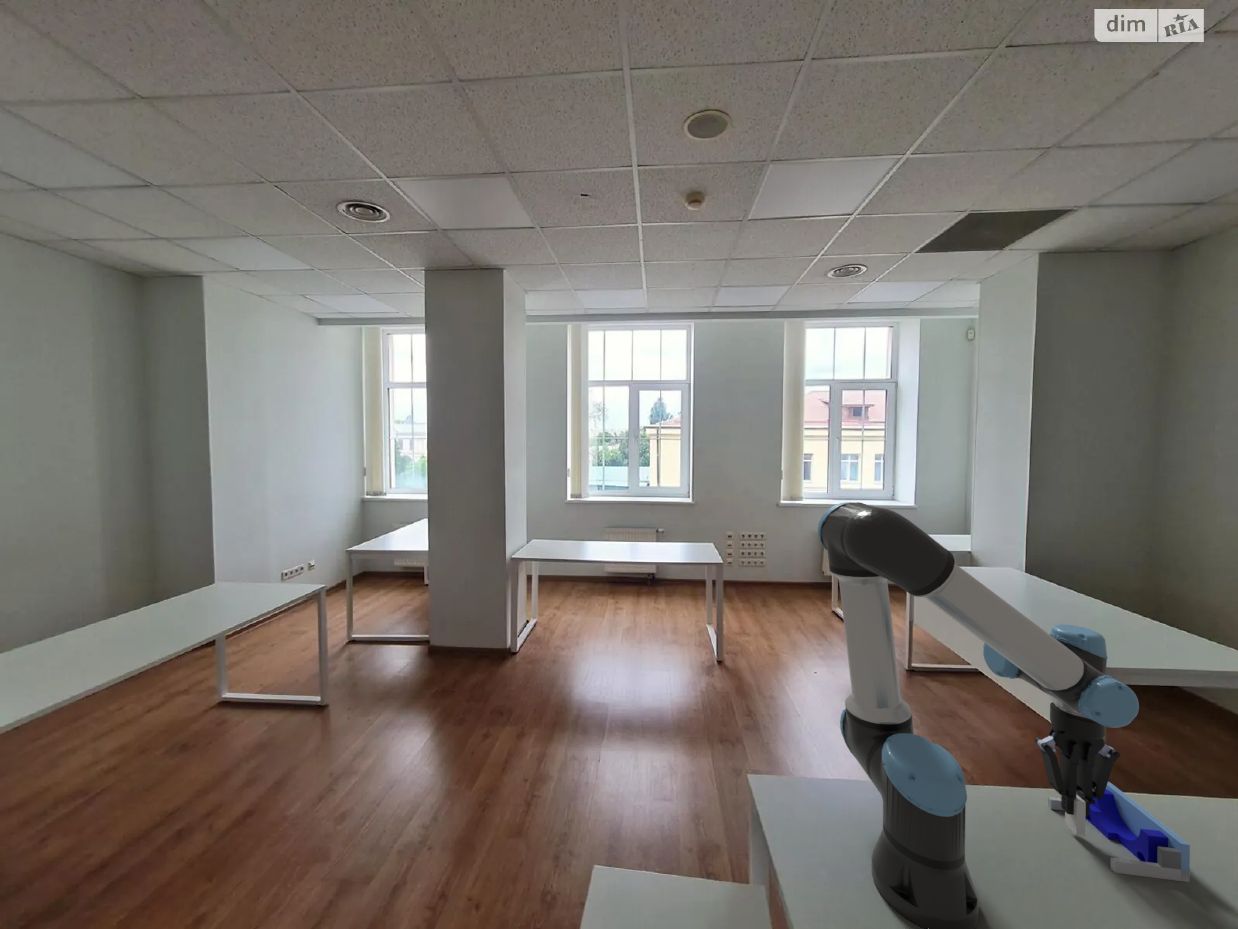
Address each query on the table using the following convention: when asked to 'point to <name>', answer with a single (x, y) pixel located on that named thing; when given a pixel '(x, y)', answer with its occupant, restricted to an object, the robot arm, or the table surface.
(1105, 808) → the blue arched bracket piece
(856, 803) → the table surface
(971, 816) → the table surface
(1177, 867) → the blue wall bracket
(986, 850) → the table surface
